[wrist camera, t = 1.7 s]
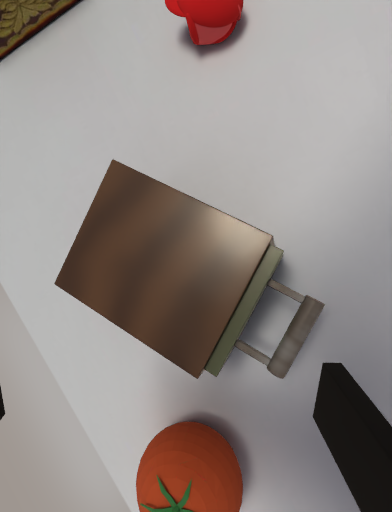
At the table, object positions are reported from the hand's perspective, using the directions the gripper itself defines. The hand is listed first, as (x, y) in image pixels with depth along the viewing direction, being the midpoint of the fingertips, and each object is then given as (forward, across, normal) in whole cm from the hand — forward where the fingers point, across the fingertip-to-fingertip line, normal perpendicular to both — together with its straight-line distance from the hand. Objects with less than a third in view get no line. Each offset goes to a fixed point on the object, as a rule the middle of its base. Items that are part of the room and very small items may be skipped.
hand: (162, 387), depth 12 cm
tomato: (+16, +3, -22) cm, 27 cm away
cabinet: (+23, +1, -2) cm, 23 cm away
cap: (+31, +3, +25) cm, 40 cm away
